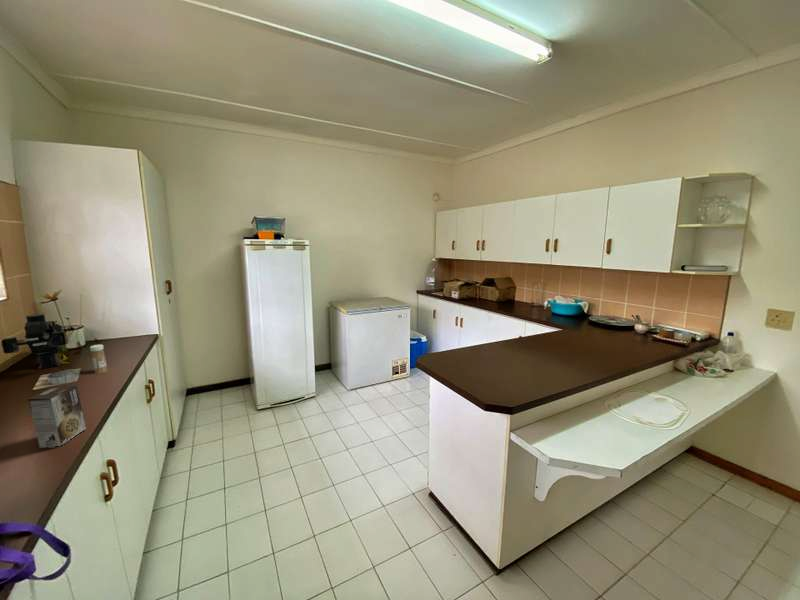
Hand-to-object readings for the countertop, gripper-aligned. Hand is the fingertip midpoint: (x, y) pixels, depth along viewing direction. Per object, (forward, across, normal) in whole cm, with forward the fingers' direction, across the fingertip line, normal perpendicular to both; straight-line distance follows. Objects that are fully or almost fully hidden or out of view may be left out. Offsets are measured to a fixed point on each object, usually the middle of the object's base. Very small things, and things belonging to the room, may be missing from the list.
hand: (31, 346), depth 138 cm
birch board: (+1, +6, +17) cm, 18 cm away
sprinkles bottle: (+3, +20, +17) cm, 26 cm away
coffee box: (+62, +13, +16) cm, 65 cm away
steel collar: (+5, +8, +16) cm, 18 cm away
